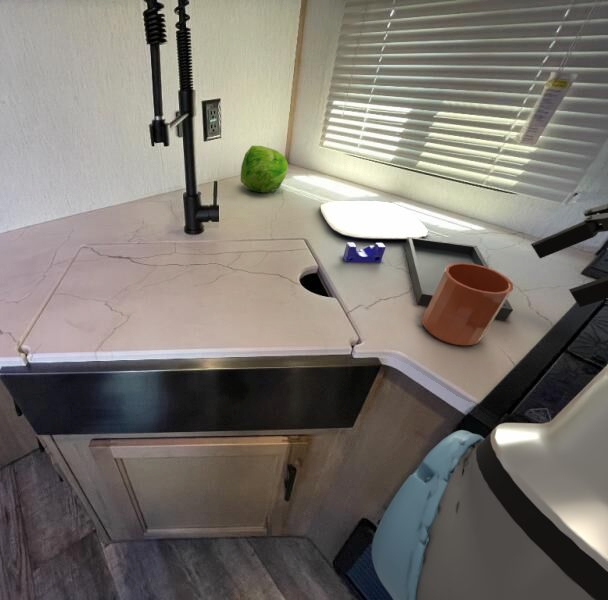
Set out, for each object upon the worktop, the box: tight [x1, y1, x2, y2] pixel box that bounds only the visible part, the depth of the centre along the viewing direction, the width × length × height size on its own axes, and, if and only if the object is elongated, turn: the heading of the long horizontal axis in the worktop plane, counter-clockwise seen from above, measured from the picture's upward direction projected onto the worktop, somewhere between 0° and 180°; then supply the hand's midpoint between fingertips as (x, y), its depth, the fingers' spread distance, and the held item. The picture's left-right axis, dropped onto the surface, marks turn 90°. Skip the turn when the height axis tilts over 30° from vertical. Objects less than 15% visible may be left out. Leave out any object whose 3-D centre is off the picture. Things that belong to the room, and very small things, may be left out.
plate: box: [319, 200, 429, 241], centre depth 97 cm, size 25×25×2 cm
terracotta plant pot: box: [421, 263, 514, 346], centre depth 58 cm, size 9×9×11 cm
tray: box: [404, 237, 514, 322], centre depth 74 cm, size 26×15×3 cm, turn 161°
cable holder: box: [342, 242, 386, 264], centre depth 80 cm, size 8×4×4 cm, turn 89°
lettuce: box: [240, 145, 289, 194], centre depth 116 cm, size 15×20×14 cm
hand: (552, 272), depth 51 cm, fingers open, 13 cm apart
